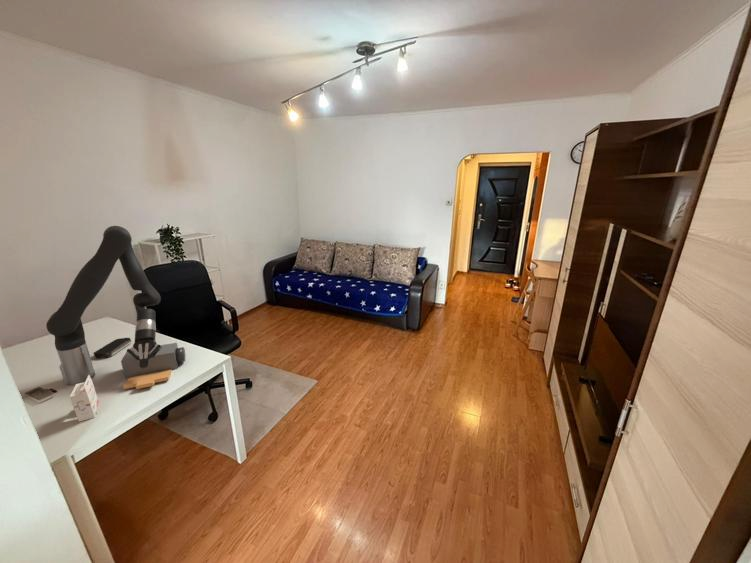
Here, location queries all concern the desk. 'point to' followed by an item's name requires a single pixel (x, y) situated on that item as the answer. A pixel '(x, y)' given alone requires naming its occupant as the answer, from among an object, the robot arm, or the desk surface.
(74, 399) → the ink cartridge box
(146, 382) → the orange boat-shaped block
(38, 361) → the desk surface
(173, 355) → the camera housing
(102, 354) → the black sponge
